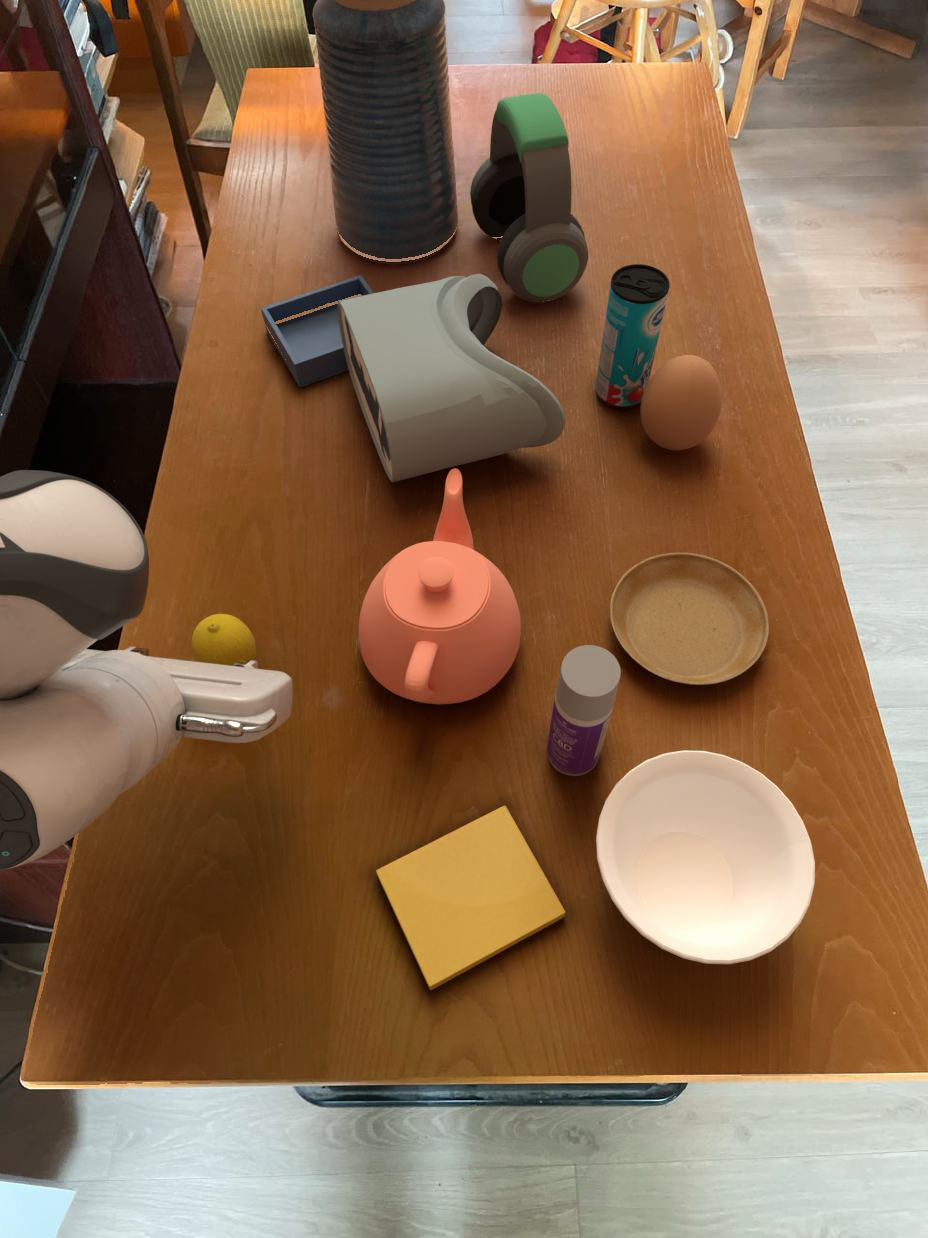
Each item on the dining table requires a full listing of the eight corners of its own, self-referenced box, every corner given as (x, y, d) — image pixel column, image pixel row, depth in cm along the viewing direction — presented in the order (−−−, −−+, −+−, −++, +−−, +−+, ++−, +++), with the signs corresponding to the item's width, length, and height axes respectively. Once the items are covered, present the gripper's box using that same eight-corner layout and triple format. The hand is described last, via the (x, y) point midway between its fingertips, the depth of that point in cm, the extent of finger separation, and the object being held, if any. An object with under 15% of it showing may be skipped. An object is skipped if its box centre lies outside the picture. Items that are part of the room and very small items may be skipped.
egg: (718, 426, 99) (743, 347, 89) (696, 477, 95) (721, 400, 85) (647, 405, 101) (665, 325, 91) (623, 454, 97) (639, 376, 87)
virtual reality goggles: (346, 371, 104) (331, 278, 93) (497, 335, 107) (499, 241, 96) (397, 507, 93) (386, 420, 82) (563, 463, 96) (574, 374, 85)
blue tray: (299, 387, 103) (294, 364, 100) (266, 331, 108) (260, 307, 105) (401, 351, 106) (399, 327, 103) (364, 298, 111) (361, 274, 108)
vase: (331, 202, 122) (290, -68, 96) (446, 188, 124) (438, -82, 97) (344, 275, 114) (303, 1, 87) (468, 259, 115) (465, -15, 88)
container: (540, 768, 77) (552, 689, 65) (553, 721, 80) (567, 636, 67) (592, 782, 76) (615, 705, 64) (604, 735, 79) (628, 652, 66)
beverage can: (628, 418, 100) (650, 308, 87) (584, 396, 101) (599, 286, 89) (655, 389, 102) (680, 278, 89) (612, 368, 104) (630, 256, 91)
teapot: (388, 538, 91) (377, 456, 81) (533, 555, 90) (540, 474, 79) (340, 729, 79) (319, 663, 69) (505, 752, 78) (509, 688, 68)
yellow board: (430, 991, 68) (429, 987, 66) (377, 875, 72) (375, 870, 71) (564, 917, 70) (566, 912, 69) (504, 811, 75) (505, 804, 74)
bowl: (572, 796, 76) (582, 756, 69) (754, 782, 76) (783, 742, 69) (600, 993, 67) (615, 972, 60) (805, 977, 68) (844, 954, 60)
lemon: (197, 658, 84) (172, 613, 77) (252, 635, 85) (232, 589, 78) (216, 705, 81) (192, 662, 74) (272, 680, 82) (254, 636, 76)
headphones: (465, 228, 119) (463, 71, 102) (542, 214, 120) (553, 57, 103) (505, 317, 109) (511, 160, 92) (589, 301, 110) (609, 143, 94)
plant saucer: (581, 593, 87) (584, 578, 85) (712, 549, 90) (718, 533, 87) (650, 719, 80) (655, 706, 77) (791, 667, 82) (800, 653, 80)
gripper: (263, 691, 59) (317, 640, 72) (-26, 657, 60) (80, 613, 74) (260, 778, 60) (314, 712, 74) (-22, 743, 62) (81, 684, 75)
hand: (195, 662), depth 74 cm, fingers open, 8 cm apart
